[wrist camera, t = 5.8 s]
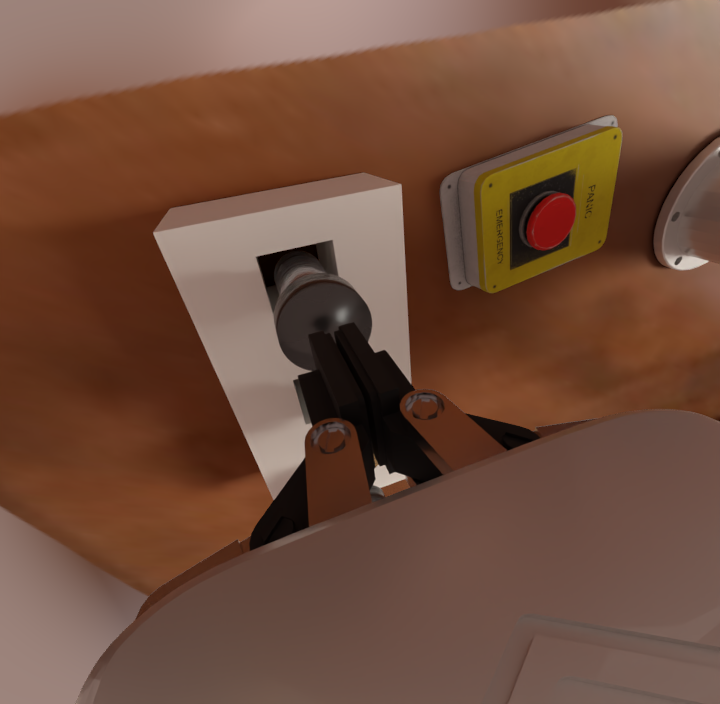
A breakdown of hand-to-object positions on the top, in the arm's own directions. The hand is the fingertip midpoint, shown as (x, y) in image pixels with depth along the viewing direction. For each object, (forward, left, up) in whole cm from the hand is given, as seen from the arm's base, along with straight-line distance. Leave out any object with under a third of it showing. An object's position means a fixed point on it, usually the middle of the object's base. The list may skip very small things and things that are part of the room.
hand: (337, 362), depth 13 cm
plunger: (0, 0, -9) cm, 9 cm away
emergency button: (-20, +1, -15) cm, 24 cm away
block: (0, +8, -14) cm, 16 cm away
